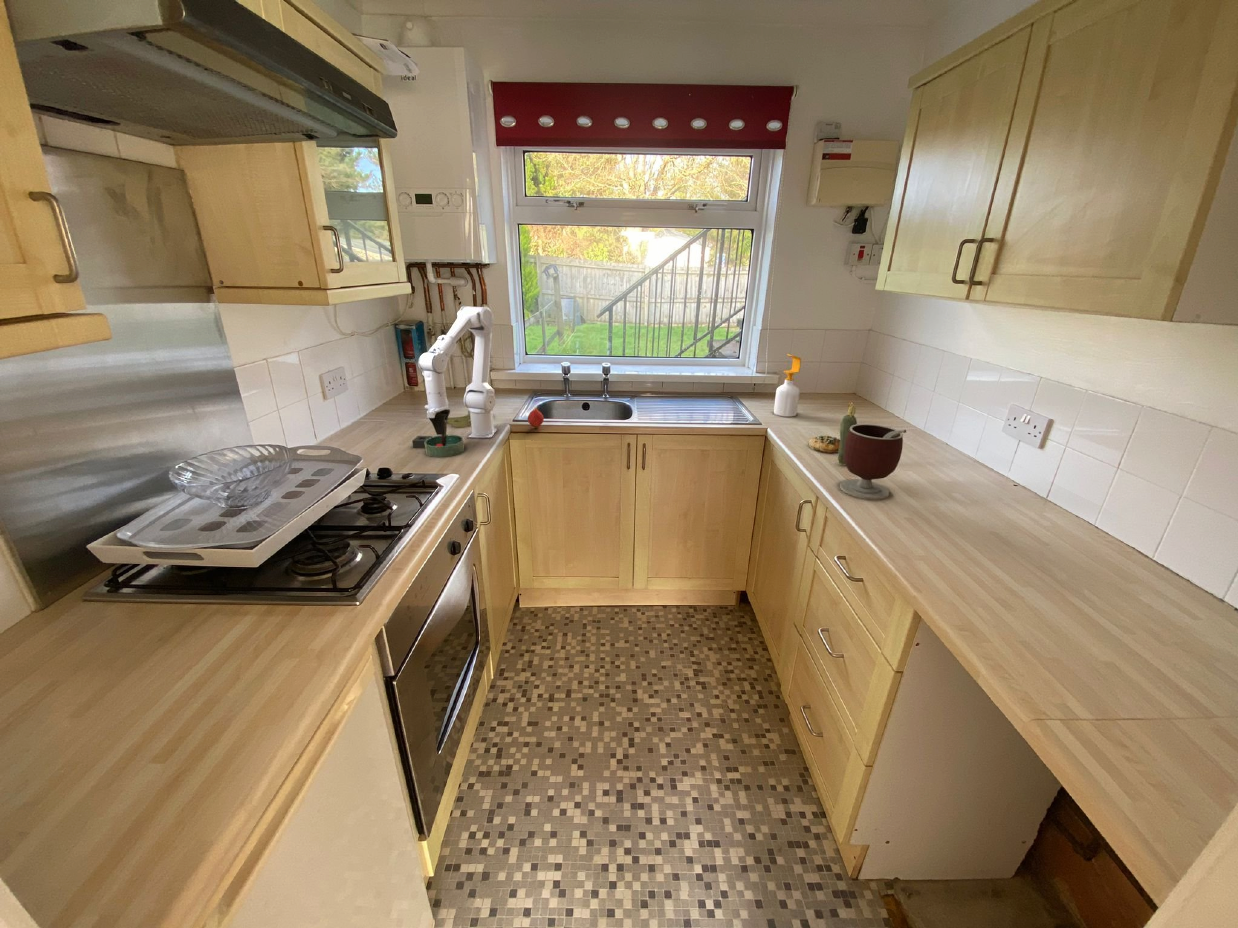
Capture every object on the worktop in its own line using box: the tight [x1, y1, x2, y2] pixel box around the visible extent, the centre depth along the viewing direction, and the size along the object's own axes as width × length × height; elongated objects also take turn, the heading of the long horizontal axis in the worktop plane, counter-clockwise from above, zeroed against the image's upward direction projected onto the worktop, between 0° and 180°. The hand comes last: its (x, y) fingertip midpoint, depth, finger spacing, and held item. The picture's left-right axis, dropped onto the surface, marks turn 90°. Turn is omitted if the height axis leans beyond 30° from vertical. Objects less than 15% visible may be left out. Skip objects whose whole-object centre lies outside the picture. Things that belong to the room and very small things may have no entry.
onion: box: [527, 407, 545, 429], centre depth 188 cm, size 6×6×8 cm
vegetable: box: [837, 401, 858, 466], centre depth 154 cm, size 4×4×20 cm
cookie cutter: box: [447, 410, 471, 428], centre depth 198 cm, size 18×12×2 cm, turn 155°
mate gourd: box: [839, 423, 907, 501], centre depth 136 cm, size 16×14×20 cm
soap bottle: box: [773, 353, 802, 418], centre depth 207 cm, size 9×9×25 cm
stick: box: [441, 420, 448, 446], centre depth 163 cm, size 1×1×10 cm
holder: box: [411, 435, 433, 449], centre depth 171 cm, size 5×5×2 cm
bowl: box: [424, 434, 465, 458], centre depth 166 cm, size 12×12×4 cm
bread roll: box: [808, 435, 840, 454], centre depth 172 cm, size 11×11×5 cm
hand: (441, 433), depth 163 cm, fingers closed on stick, 1 cm apart
